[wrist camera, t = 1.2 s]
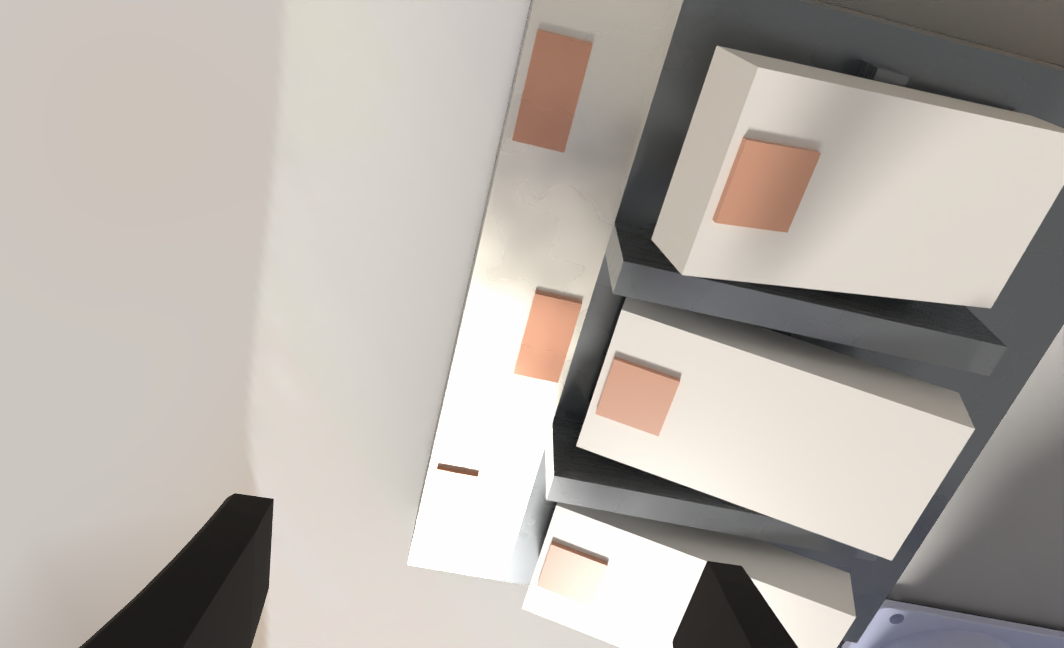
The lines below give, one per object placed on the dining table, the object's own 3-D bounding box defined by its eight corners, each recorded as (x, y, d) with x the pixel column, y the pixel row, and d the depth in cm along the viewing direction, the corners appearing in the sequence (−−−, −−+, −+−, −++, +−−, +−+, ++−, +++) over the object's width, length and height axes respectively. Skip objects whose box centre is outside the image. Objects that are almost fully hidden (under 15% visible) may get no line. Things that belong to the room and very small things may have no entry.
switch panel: (1129, 84, 20) (1294, 138, 15) (832, 584, 28) (885, 709, 24) (547, -73, 18) (550, -61, 14) (417, 508, 27) (395, 628, 22)
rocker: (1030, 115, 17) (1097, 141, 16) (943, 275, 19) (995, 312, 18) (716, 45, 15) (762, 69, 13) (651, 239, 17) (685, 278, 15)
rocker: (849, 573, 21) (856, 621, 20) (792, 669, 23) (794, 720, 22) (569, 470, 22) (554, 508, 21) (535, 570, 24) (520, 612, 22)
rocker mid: (958, 392, 18) (976, 433, 17) (882, 518, 20) (892, 564, 19) (631, 283, 19) (620, 312, 18) (588, 413, 21) (574, 449, 20)
